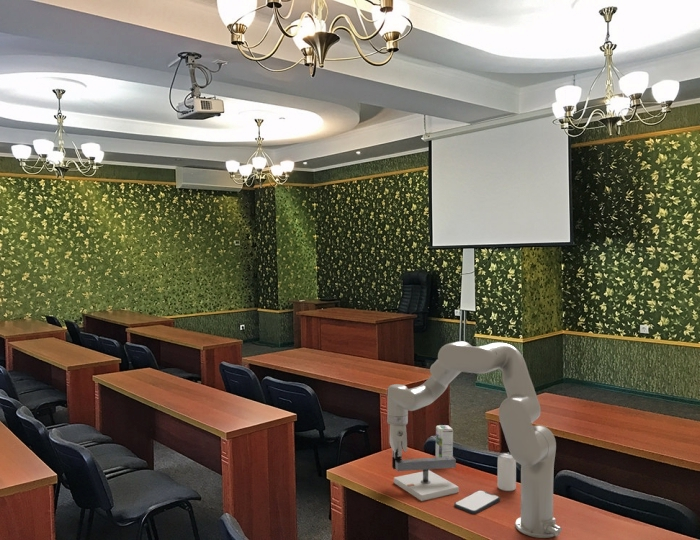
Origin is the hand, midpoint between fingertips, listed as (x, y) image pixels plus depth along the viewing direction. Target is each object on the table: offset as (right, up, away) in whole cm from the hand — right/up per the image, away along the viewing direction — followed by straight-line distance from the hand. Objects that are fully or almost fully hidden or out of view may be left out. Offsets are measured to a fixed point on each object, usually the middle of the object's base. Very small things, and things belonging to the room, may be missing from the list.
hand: (396, 468), depth 208 cm
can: (+40, -7, -2) cm, 40 cm away
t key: (+10, -4, -2) cm, 11 cm away
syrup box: (+21, -6, +24) cm, 33 cm away
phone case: (+26, -7, -15) cm, 31 cm away
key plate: (+10, -6, -2) cm, 12 cm away
